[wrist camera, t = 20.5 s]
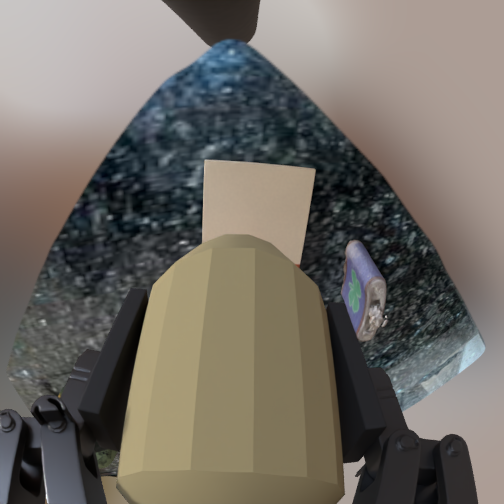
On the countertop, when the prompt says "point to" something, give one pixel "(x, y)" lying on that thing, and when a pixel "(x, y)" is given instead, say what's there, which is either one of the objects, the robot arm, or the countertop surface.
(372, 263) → the flask
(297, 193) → the board
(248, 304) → the squeeze bottle
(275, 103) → the countertop surface
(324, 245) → the countertop surface
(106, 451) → the mug
